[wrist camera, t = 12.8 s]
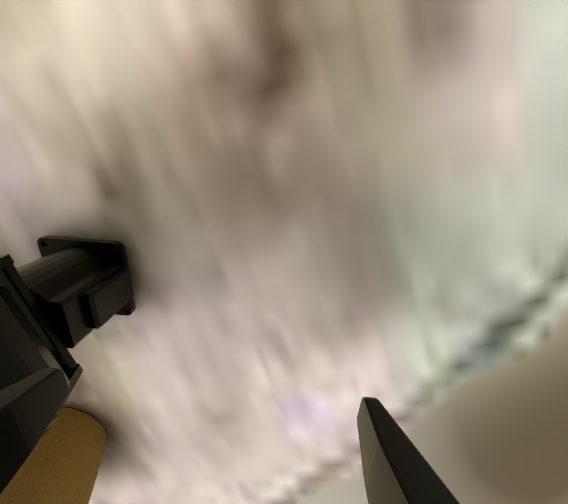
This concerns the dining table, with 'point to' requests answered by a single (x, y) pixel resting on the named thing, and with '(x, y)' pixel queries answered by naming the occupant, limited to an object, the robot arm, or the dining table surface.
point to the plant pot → (60, 463)
